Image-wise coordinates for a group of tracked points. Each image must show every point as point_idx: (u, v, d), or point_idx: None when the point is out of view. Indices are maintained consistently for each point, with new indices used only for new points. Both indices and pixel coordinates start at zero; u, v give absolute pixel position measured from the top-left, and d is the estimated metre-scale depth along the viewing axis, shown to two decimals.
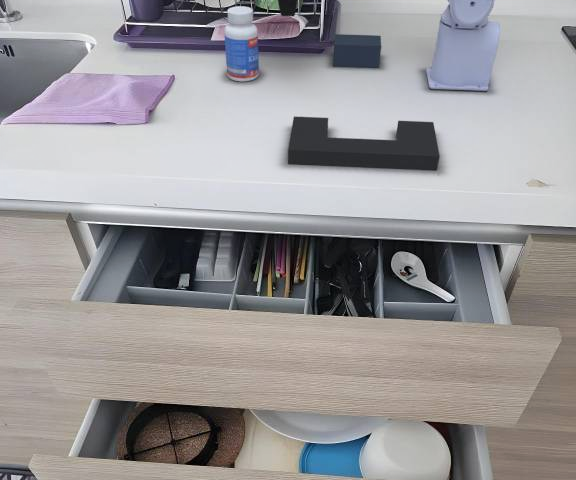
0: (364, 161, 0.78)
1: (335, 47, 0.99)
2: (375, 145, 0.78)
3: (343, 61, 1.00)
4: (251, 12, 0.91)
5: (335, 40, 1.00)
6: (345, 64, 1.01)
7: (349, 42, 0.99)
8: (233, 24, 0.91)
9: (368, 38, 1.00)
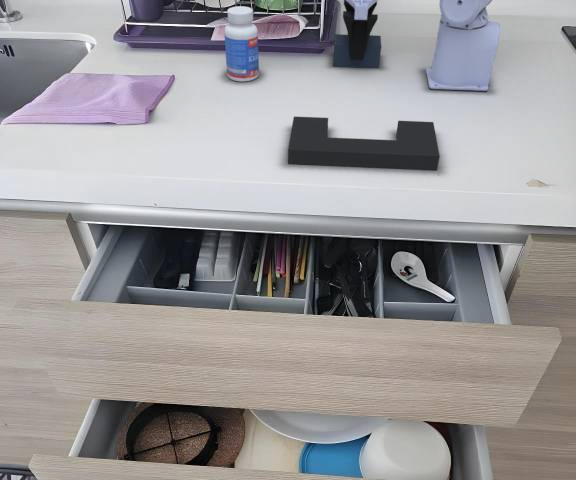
0: (364, 161, 0.78)
1: (335, 47, 0.99)
2: (375, 145, 0.78)
3: (343, 61, 1.00)
4: (251, 12, 0.91)
5: (335, 40, 1.00)
6: (345, 64, 1.01)
7: None
8: (233, 24, 0.91)
9: None
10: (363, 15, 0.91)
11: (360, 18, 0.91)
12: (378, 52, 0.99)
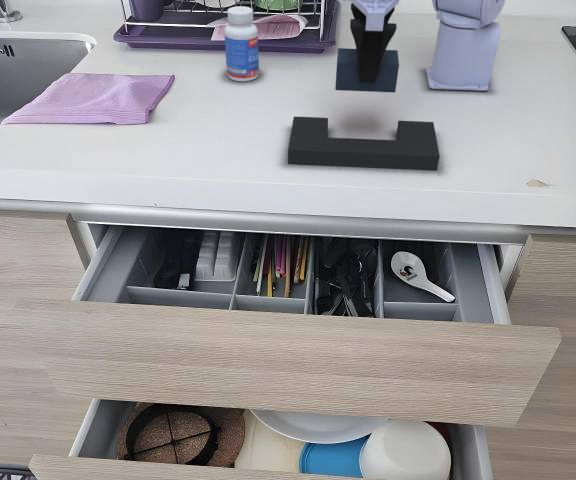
0: (364, 161, 0.78)
1: (338, 66, 0.75)
2: (375, 145, 0.78)
3: (349, 84, 0.77)
4: (251, 12, 0.91)
5: (338, 56, 0.76)
6: (352, 88, 0.77)
7: None
8: (233, 24, 0.91)
9: None
10: (378, 25, 0.67)
11: (373, 29, 0.68)
12: (395, 72, 0.75)
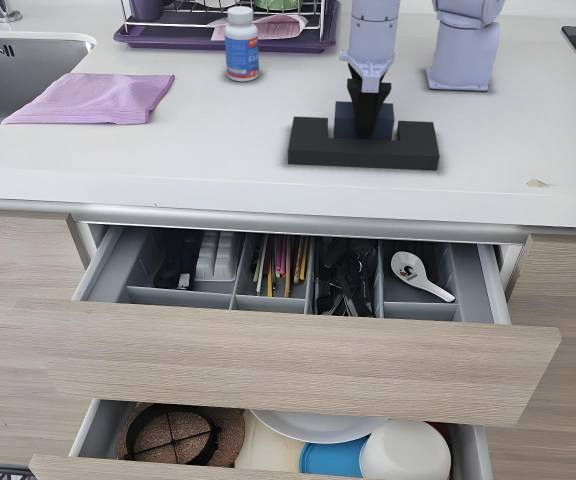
0: (364, 161, 0.78)
1: (336, 120, 0.78)
2: (375, 145, 0.78)
3: (346, 136, 0.80)
4: (251, 12, 0.91)
5: (336, 110, 0.79)
6: None
7: None
8: (233, 24, 0.91)
9: None
10: (373, 87, 0.70)
11: (369, 91, 0.71)
12: (390, 126, 0.78)
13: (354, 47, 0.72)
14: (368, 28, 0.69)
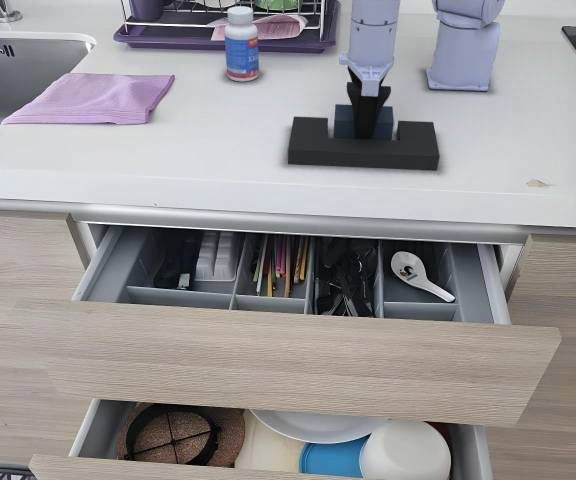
0: (364, 161, 0.78)
1: (336, 123, 0.79)
2: (375, 145, 0.78)
3: None
4: (251, 12, 0.91)
5: (336, 113, 0.79)
6: None
7: None
8: (233, 24, 0.91)
9: None
10: (373, 91, 0.70)
11: (369, 94, 0.71)
12: (390, 129, 0.79)
13: (354, 50, 0.72)
14: (368, 32, 0.70)
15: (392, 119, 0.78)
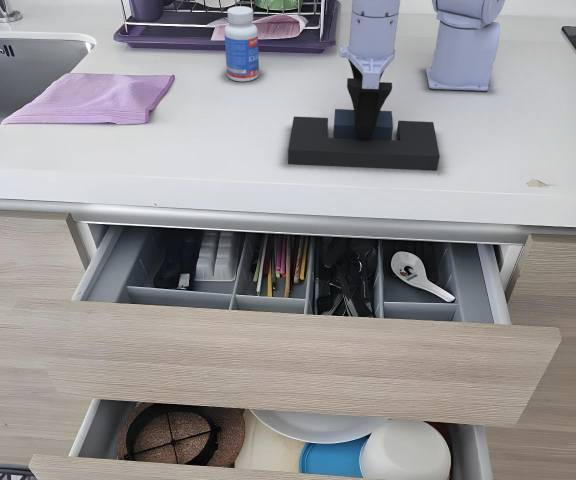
0: (364, 161, 0.78)
1: (335, 128, 0.79)
2: (375, 145, 0.78)
3: None
4: (251, 12, 0.91)
5: (335, 118, 0.80)
6: None
7: (353, 121, 0.79)
8: (233, 24, 0.91)
9: None
10: (374, 83, 0.70)
11: (370, 87, 0.70)
12: (389, 134, 0.79)
13: (354, 43, 0.72)
14: (368, 24, 0.69)
15: (391, 124, 0.79)
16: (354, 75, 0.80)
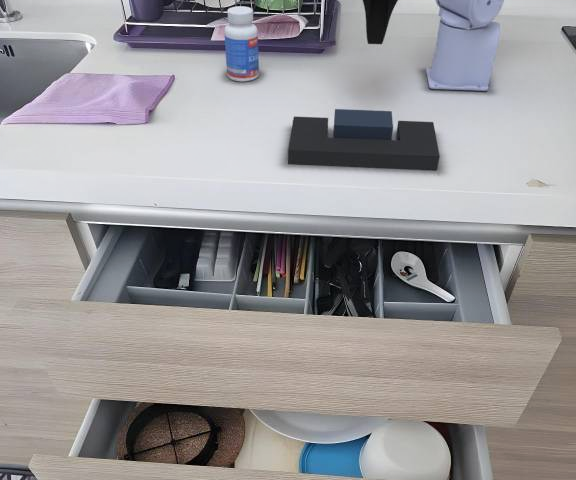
0: (364, 161, 0.78)
1: (335, 128, 0.79)
2: (375, 145, 0.78)
3: None
4: (251, 12, 0.91)
5: (335, 118, 0.80)
6: None
7: (353, 121, 0.79)
8: (233, 24, 0.91)
9: (376, 115, 0.81)
10: None
11: None
12: (389, 134, 0.79)
13: None
14: None
15: (391, 124, 0.79)
16: None
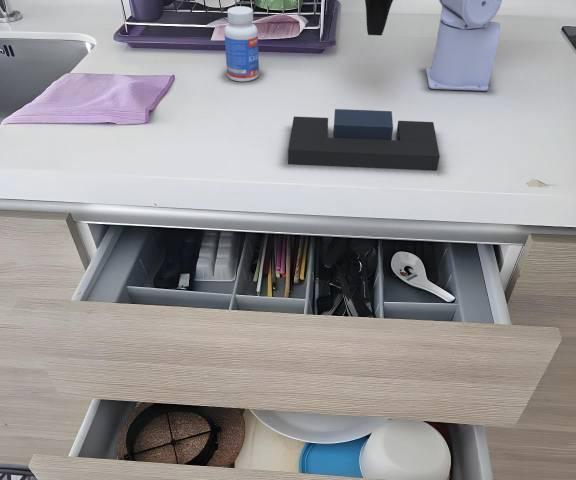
0: (364, 161, 0.78)
1: (335, 128, 0.79)
2: (375, 145, 0.78)
3: None
4: (251, 12, 0.91)
5: (335, 118, 0.80)
6: None
7: (353, 121, 0.79)
8: (233, 24, 0.91)
9: (376, 115, 0.81)
10: None
11: None
12: (389, 134, 0.79)
13: None
14: None
15: (391, 124, 0.79)
16: None
